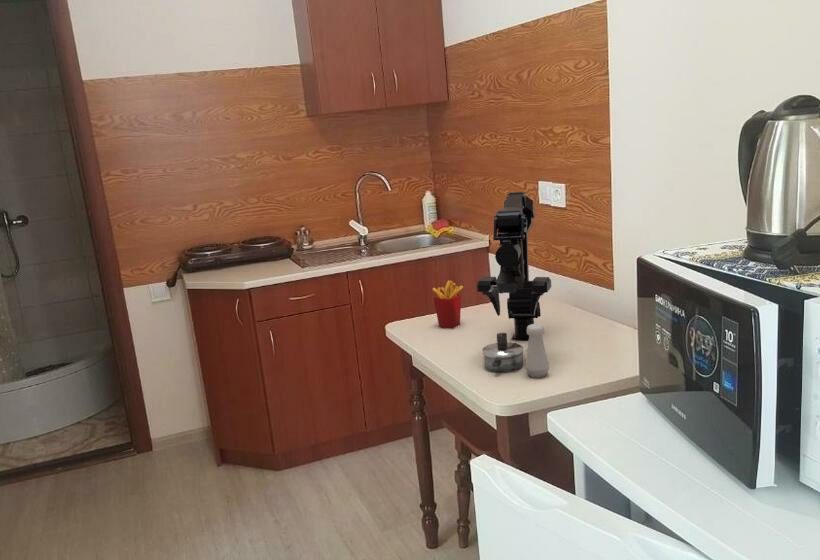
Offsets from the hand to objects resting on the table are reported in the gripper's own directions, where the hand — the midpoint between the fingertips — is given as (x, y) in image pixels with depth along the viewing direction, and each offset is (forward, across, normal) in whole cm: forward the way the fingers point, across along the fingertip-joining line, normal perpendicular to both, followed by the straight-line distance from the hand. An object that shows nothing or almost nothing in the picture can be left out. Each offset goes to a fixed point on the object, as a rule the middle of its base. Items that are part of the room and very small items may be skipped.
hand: (515, 315), depth 190 cm
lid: (+8, -2, -6) cm, 10 cm away
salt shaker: (+12, +8, -11) cm, 18 cm away
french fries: (+13, -28, +27) cm, 41 cm away
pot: (+12, -2, -6) cm, 14 cm away
